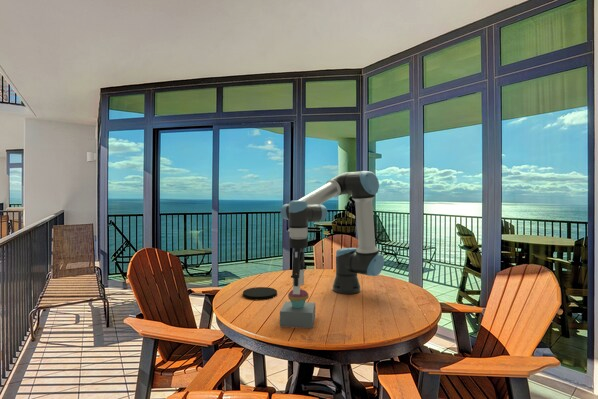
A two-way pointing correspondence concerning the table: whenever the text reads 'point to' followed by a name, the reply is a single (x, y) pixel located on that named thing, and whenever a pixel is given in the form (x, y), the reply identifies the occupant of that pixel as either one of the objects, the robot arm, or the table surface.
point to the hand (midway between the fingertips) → (298, 289)
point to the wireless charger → (259, 293)
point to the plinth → (297, 315)
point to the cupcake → (298, 298)
